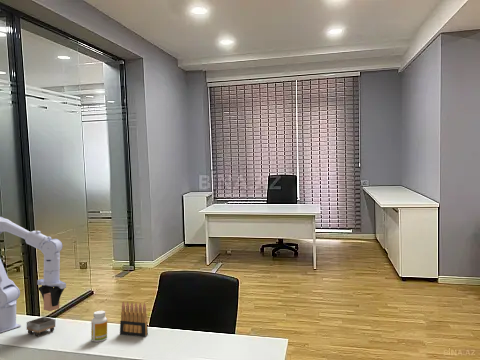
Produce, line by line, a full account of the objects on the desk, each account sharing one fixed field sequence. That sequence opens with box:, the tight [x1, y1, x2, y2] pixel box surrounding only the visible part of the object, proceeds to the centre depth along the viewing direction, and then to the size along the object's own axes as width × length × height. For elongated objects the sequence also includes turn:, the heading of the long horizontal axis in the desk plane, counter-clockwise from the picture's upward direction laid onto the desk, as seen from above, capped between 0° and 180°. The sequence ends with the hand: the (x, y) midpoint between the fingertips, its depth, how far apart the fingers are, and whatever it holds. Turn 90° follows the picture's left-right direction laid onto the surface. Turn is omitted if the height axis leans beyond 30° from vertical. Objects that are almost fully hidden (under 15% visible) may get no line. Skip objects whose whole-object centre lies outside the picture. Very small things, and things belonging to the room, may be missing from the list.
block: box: [43, 293, 60, 312], centre depth 150 cm, size 4×4×6 cm
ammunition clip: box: [119, 301, 149, 338], centre depth 142 cm, size 11×2×12 cm, turn 76°
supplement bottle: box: [90, 310, 108, 343], centre depth 137 cm, size 5×5×10 cm
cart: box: [26, 316, 56, 337], centre depth 144 cm, size 7×7×4 cm
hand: (51, 304), depth 149 cm, fingers closed on block, 4 cm apart
